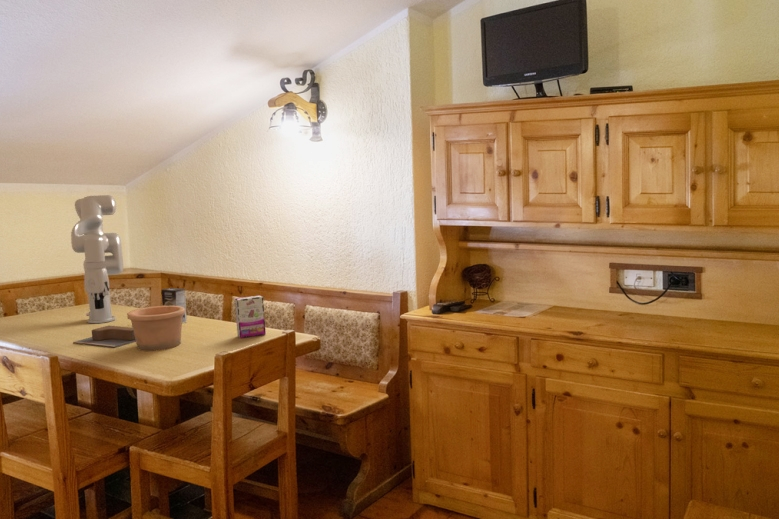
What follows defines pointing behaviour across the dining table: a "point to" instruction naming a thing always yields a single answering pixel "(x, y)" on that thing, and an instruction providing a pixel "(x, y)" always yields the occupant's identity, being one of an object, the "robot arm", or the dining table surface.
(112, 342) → the mat
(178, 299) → the coffee box
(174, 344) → the pottery
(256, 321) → the candy bar box
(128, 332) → the brown boot
